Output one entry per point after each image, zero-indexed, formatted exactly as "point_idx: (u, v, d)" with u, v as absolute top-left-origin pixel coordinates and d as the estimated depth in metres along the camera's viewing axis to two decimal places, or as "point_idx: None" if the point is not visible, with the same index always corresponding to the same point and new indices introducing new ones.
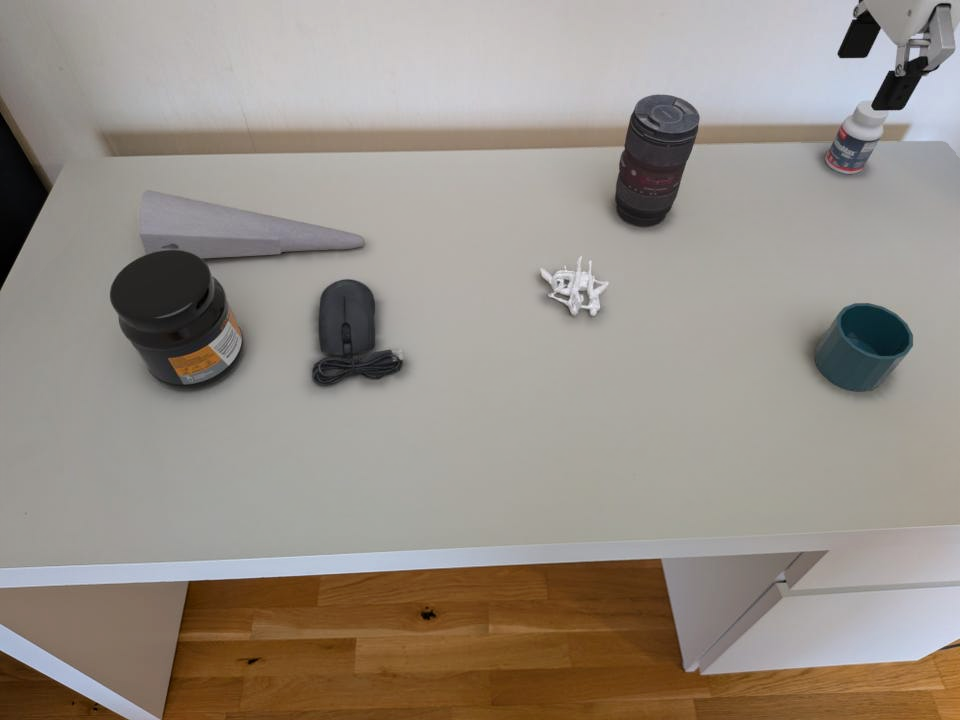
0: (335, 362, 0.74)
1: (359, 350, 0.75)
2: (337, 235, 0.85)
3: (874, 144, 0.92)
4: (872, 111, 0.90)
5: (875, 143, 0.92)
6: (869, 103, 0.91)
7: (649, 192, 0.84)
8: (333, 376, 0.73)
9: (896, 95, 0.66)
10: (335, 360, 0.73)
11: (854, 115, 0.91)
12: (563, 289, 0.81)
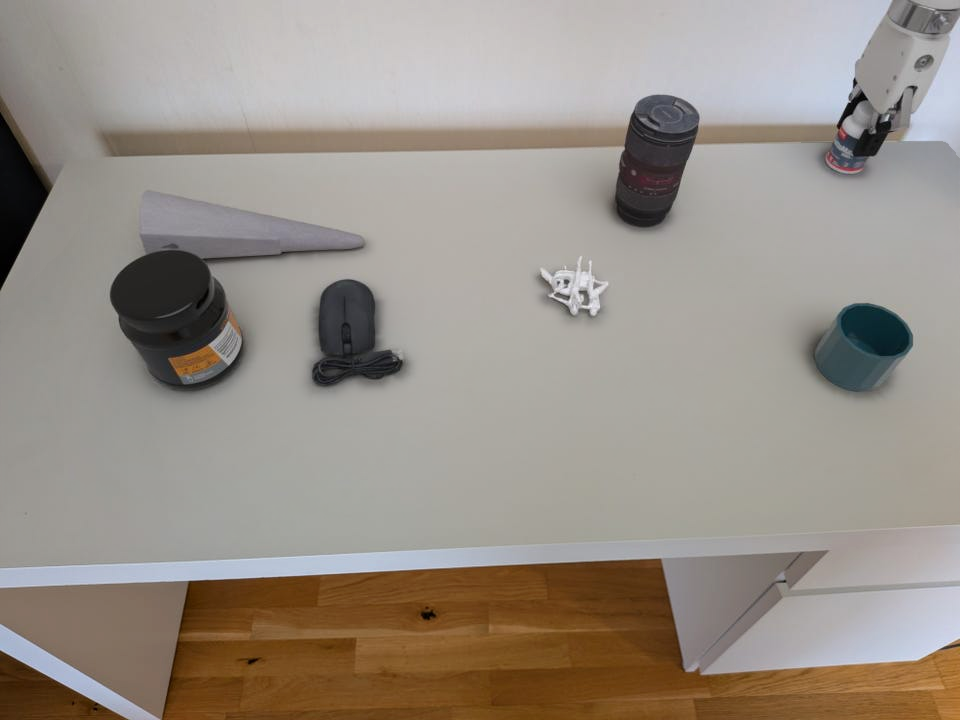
0: (335, 362, 0.74)
1: (359, 350, 0.75)
2: (337, 235, 0.85)
3: None
4: (872, 111, 0.90)
5: None
6: (869, 103, 0.91)
7: (649, 192, 0.84)
8: (333, 376, 0.73)
9: (870, 146, 0.91)
10: (335, 360, 0.73)
11: (854, 115, 0.91)
12: (563, 289, 0.81)
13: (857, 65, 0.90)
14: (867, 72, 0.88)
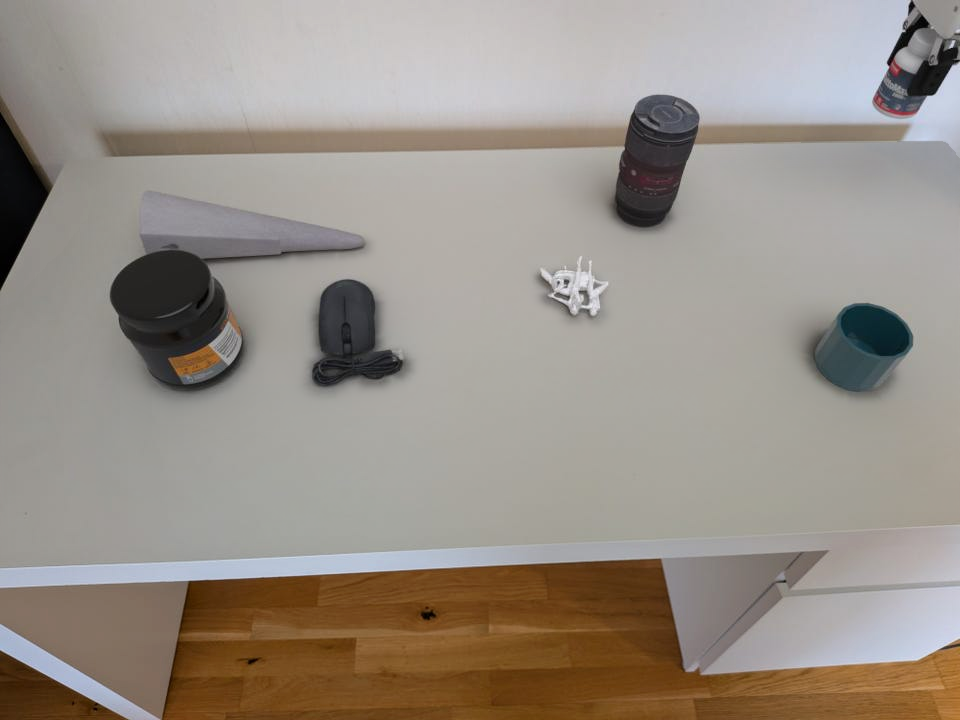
0: (335, 362, 0.74)
1: (359, 350, 0.75)
2: (337, 235, 0.85)
3: None
4: (932, 39, 0.75)
5: None
6: (928, 31, 0.76)
7: (649, 192, 0.84)
8: (333, 376, 0.73)
9: (929, 82, 0.76)
10: (335, 360, 0.73)
11: (910, 45, 0.77)
12: (563, 289, 0.81)
13: None
14: None
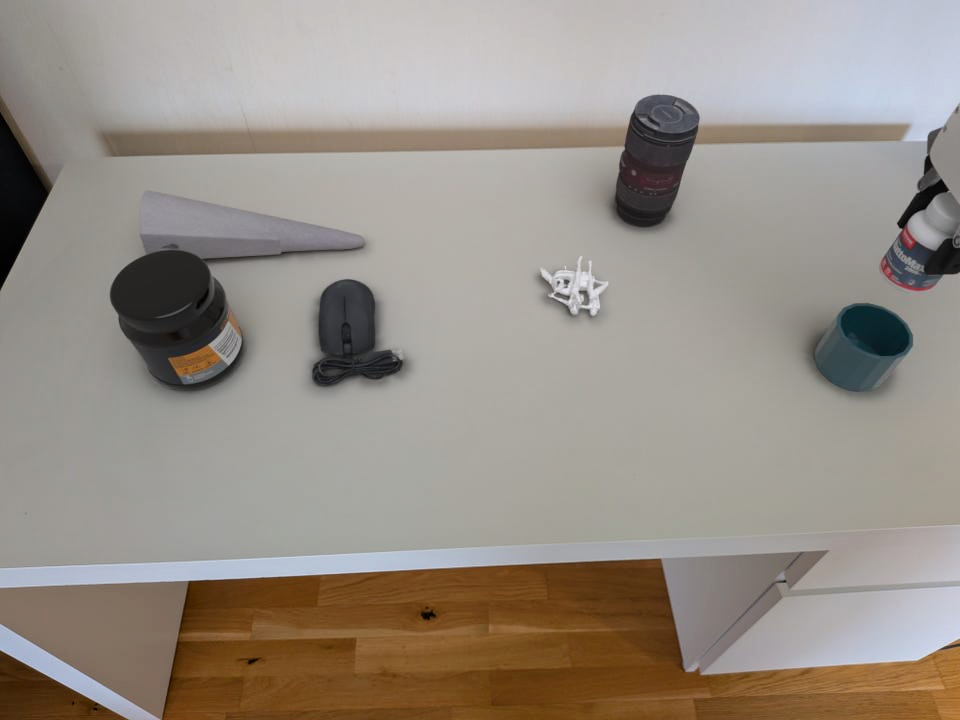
0: (335, 362, 0.74)
1: (359, 350, 0.75)
2: (337, 235, 0.85)
3: None
4: (956, 211, 0.60)
5: None
6: (950, 197, 0.61)
7: (649, 192, 0.84)
8: (333, 376, 0.73)
9: (953, 263, 0.60)
10: (335, 360, 0.73)
11: (928, 215, 0.61)
12: (563, 289, 0.81)
13: (934, 141, 0.60)
14: (953, 156, 0.57)
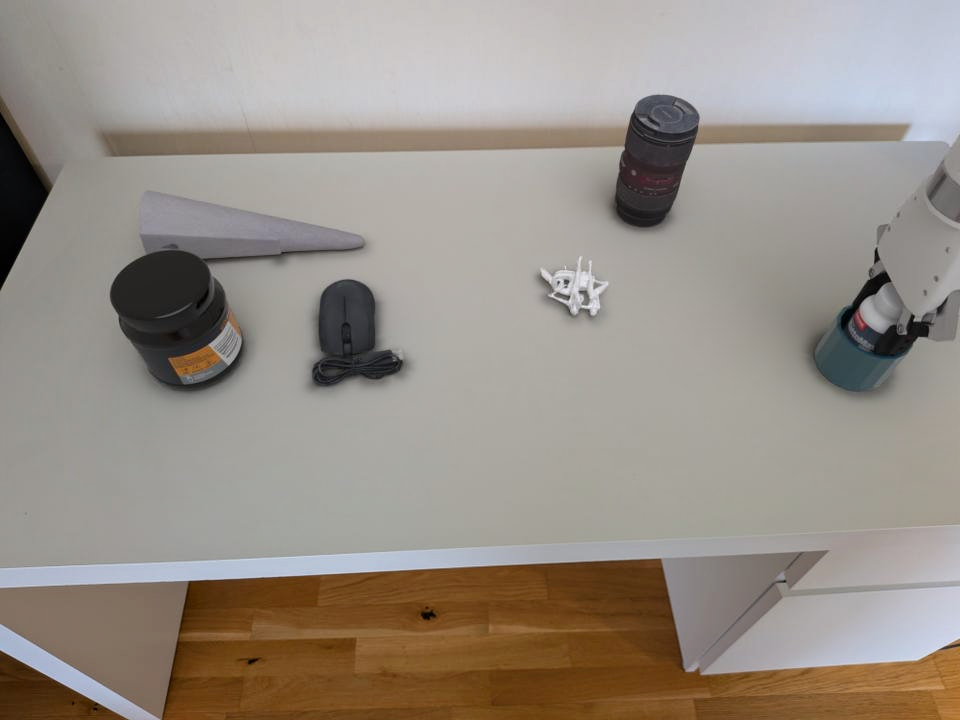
0: (335, 362, 0.74)
1: (359, 350, 0.75)
2: (337, 235, 0.85)
3: None
4: (901, 300, 0.67)
5: None
6: None
7: (649, 192, 0.84)
8: (333, 376, 0.73)
9: (898, 346, 0.67)
10: (335, 360, 0.73)
11: (876, 302, 0.68)
12: (563, 289, 0.81)
13: (881, 238, 0.67)
14: (895, 255, 0.64)
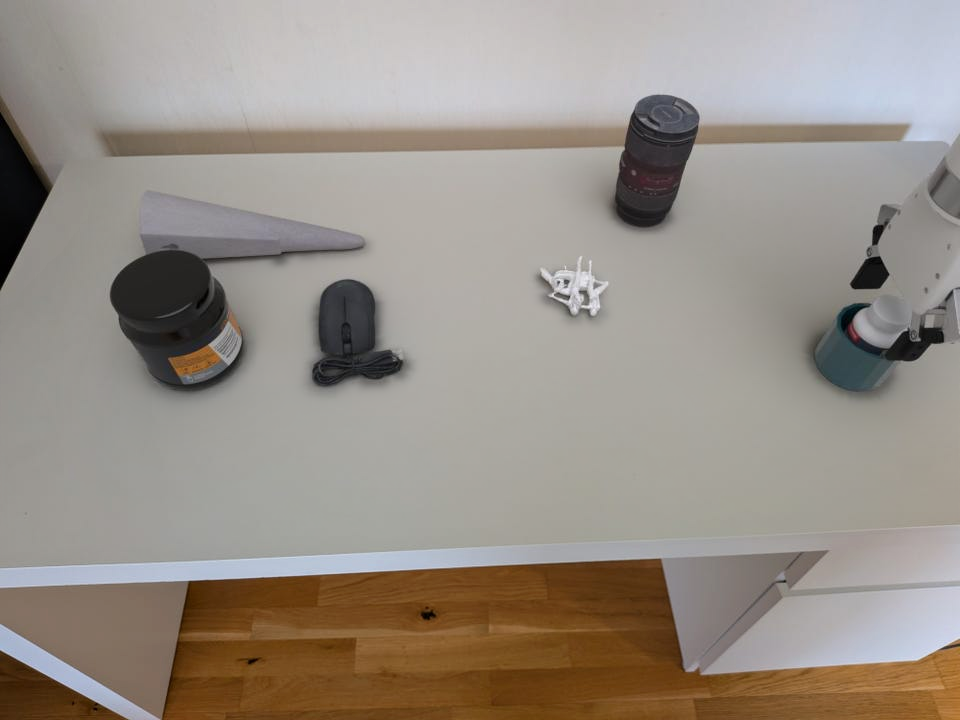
0: (335, 362, 0.74)
1: (359, 350, 0.75)
2: (337, 235, 0.85)
3: None
4: (893, 313, 0.68)
5: None
6: (889, 300, 0.69)
7: (649, 192, 0.84)
8: (333, 376, 0.73)
9: (910, 353, 0.65)
10: (335, 360, 0.73)
11: (869, 315, 0.69)
12: (563, 289, 0.81)
13: (881, 236, 0.67)
14: (896, 252, 0.64)
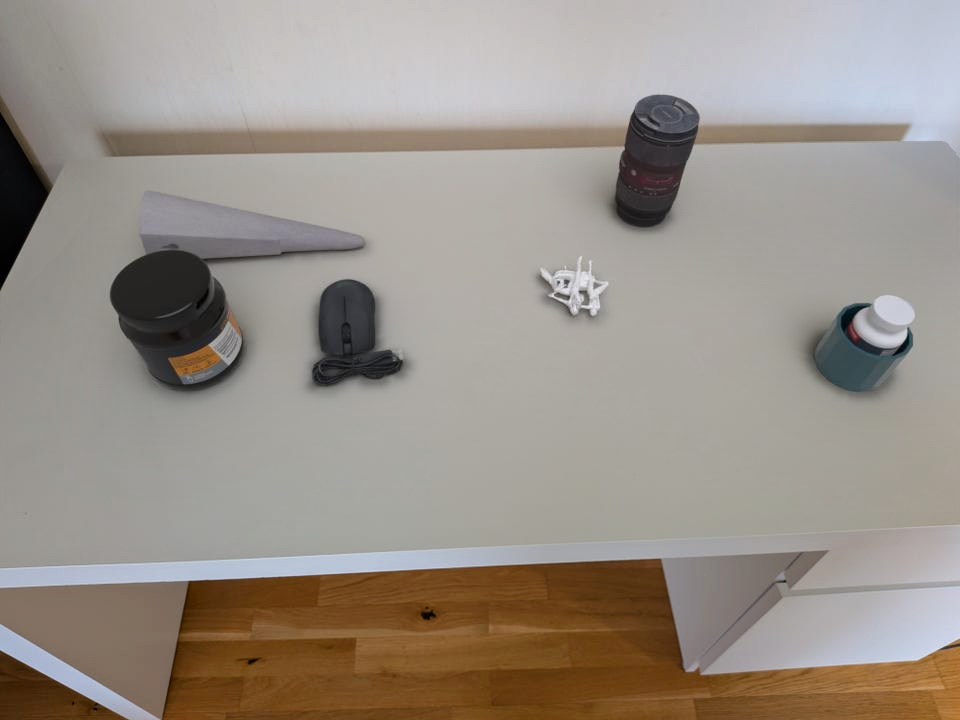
0: (335, 362, 0.74)
1: (359, 350, 0.75)
2: (337, 235, 0.85)
3: (895, 350, 0.70)
4: (893, 313, 0.68)
5: (896, 349, 0.70)
6: (889, 300, 0.69)
7: (649, 192, 0.84)
8: (333, 376, 0.73)
9: None
10: (335, 360, 0.73)
11: (869, 315, 0.69)
12: (563, 289, 0.81)
13: None
14: None
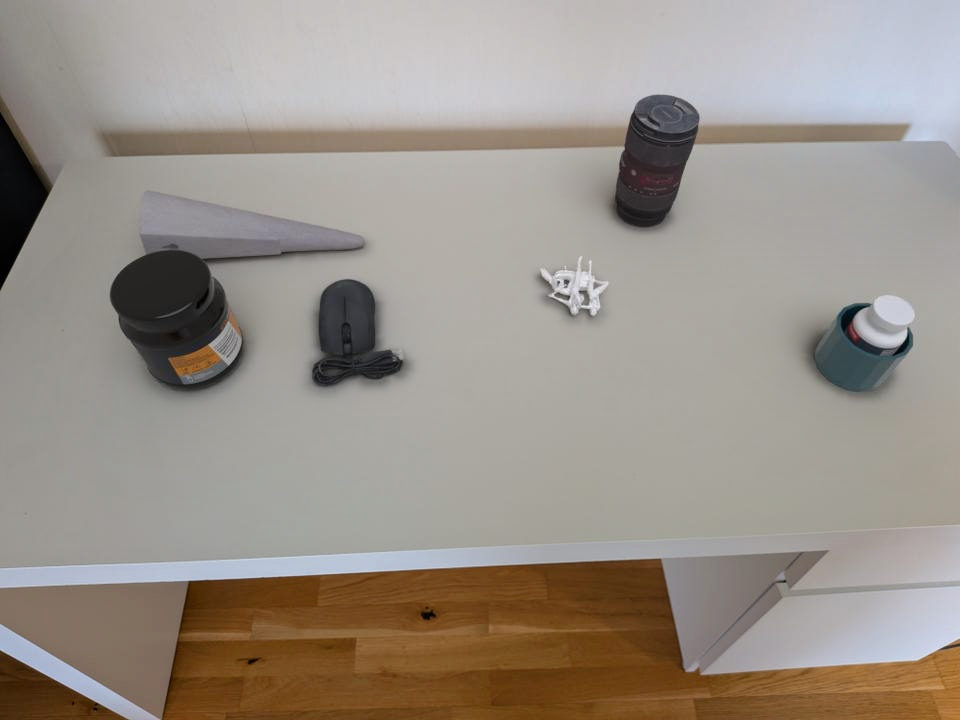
0: (335, 362, 0.74)
1: (359, 350, 0.75)
2: (337, 235, 0.85)
3: (895, 350, 0.70)
4: (893, 313, 0.68)
5: (896, 349, 0.70)
6: (889, 300, 0.69)
7: (649, 192, 0.84)
8: (333, 376, 0.73)
9: None
10: (335, 360, 0.73)
11: (869, 315, 0.69)
12: (563, 289, 0.81)
13: None
14: None
